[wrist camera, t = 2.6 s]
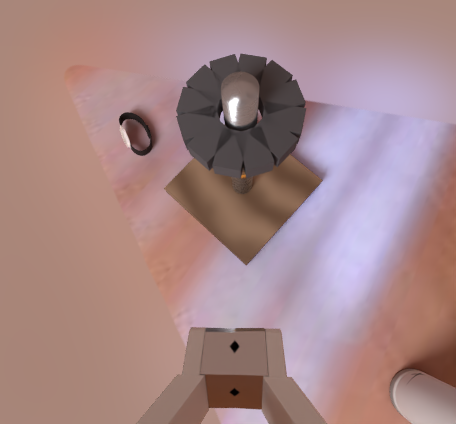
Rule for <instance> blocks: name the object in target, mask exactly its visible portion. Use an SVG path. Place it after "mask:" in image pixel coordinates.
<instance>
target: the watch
mask: <svg viewBox="0 0 456 424" xmlns="http://www.w3.org/2000/svg"><path fill="white" fill-rule="evenodd" d="M127 119H134V120H136V121H138V122H139V123H141V124H142V125H143V127H144V128H145V130H146V132H147V134H148V137H149V138H150V145H149V147H148V148H147V149H146V150H144V151H138V150H136V149H135V148H133V147H132V145H131V144H130V140H129V138H128V136H127V133H126V131H125V130H124V128H123V127H122V123H123V121H124V120H127ZM119 123H120V127H121V128H120V132H121V135H122V138H123V140H124V142H125V144H126V146H127V147H128V148H129V147H130V148H131V149H132V151H133V152H134V153H136V154H137V155H140V156H143V155H146V154H148V153H149V152H150V150H151V148H152V141H151V134H150V130H149V128H148V125H146V124H145V123H144V121H143V120H142V119H141V118H140V117H139V116H137V115H136V114H133V113H123V114H122V115H121V116H120V118H119Z"/></svg>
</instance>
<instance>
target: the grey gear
mask: <svg viewBox="0 0 456 424" xmlns="http://www.w3.org/2000/svg"><path fill="white" fill-rule="evenodd" d="M266 60H267V58H265V57H259V56H253V55H246V54H240V58H239V62H238V61H237V59H236V56H235V54H233V55H230V56H227V57H223V58H220V59H217V60H213V61H210V68H211V69H210V68H208V67H207V66H206V65H204V66H202V68H200V69H199V70H198V71H197V72H196V73H195V74H194V75H193V76H192V77H191V78H190V79H189V80H188V81H187V82H186V84H187V87H188V88H187V87H183V89H182V93H181V96H180V100H179V103H178V107H177V110H176V111H177V114H178V116H176V117H177V120H178V124H179V127H180V130H181V134H182V137H183V140H184V143H185V145H186V147H187V150H189V152H190V154H191V155H192V156H193V157H194V158H195V159H196V160H197V161H199V162H200V163H201V164H202V165H203V166H204V167H205V168H207V169H208V170H209V171H210V170H211V169H212V168H213V169H214V173H215V174H219V175H224V176H229V177H234V178H239V179H241V176H242V171H243V169H244V172H245V175H246V178H250V177H253V176H256V175H259V174H263V173H266V172H269V171H272V170H273V166H274V165H275V166H276V167H278V166H279V165H280V164H281V163H282V162H283V161H284V160H285V159H286V158H287V157H288V156H289V154H290V153H291V152H292V151H293V150H294V149H295V147H296V144H298V141H299V138H300V136H301V132H302V127H303V122H304V117H305V112H306V108H304V106H305V103H306V102H305V100H304V98H303V95H302V93H301V90H300V88H299V86H298V83H297V81H296V80H293V81H291V80H292V76H293V75H292V74H290V73H289V72H288V71H286V70H285V69H283V68H282V67H281V66H279V65H278V64H277V63H275V62H274V61H273V60H272V61H270V62H269V63H268V64H267V65H266ZM235 72H247V73H249V74H251V75H253V76H254V77H255V78H256V79H257V81H258V83H259V102H258V109H259V110H260V113H261V115H262V120H261V121H260V122H259V123H258V124H257V125H256V126H255V127H254V128H251V129H248V130H244V131H237V130H232V129H229V128H227V127H226V126H225V125H224V124H223V123H221V122H220V115H221V112H222V111H223V104H222V96H221V85H222V82H223V80H224V79H225V78H226V77H227V76H228V75H230V74H232V73H235Z"/></svg>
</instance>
